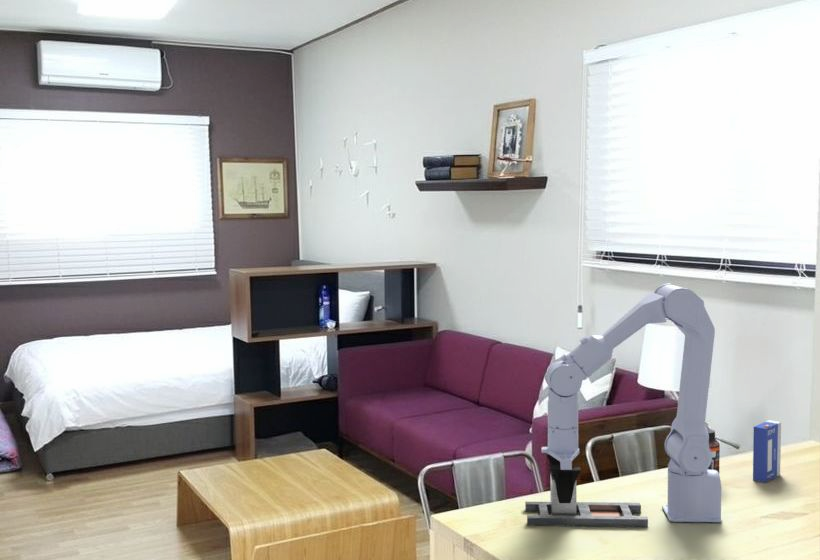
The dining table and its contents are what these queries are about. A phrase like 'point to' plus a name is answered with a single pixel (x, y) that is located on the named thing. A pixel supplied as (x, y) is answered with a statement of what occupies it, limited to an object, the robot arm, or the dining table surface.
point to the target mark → (604, 513)
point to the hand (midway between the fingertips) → (563, 495)
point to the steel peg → (561, 508)
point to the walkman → (766, 451)
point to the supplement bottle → (714, 450)
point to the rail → (587, 515)
